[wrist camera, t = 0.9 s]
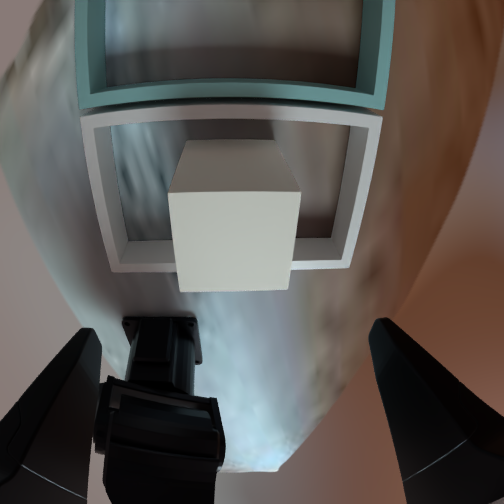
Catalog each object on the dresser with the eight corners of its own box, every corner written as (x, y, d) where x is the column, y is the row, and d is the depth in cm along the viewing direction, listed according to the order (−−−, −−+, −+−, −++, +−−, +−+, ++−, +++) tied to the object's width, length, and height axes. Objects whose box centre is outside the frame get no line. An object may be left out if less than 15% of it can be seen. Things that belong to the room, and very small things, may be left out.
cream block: (269, 214, 20) (287, 289, 15) (190, 215, 20) (179, 292, 14) (274, 139, 17) (301, 191, 12) (186, 140, 17) (167, 193, 11)
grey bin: (338, 245, 22) (348, 267, 20) (120, 249, 21) (112, 272, 19) (364, 107, 16) (382, 117, 14) (97, 107, 15) (80, 116, 13)
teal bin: (364, 101, 16) (383, 110, 14) (96, 100, 15) (79, 109, 13) (375, -47, 10) (396, -56, 8) (98, -53, 9) (81, -64, 7)
